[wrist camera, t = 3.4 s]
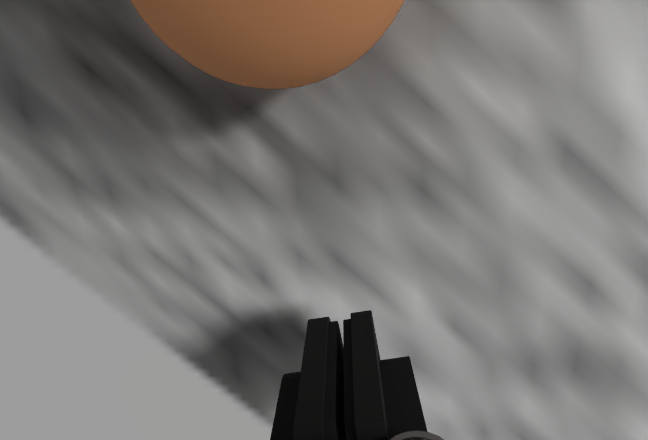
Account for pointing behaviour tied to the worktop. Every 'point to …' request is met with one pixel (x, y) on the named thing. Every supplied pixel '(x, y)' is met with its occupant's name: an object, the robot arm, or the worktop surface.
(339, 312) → the worktop surface
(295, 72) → the ball
